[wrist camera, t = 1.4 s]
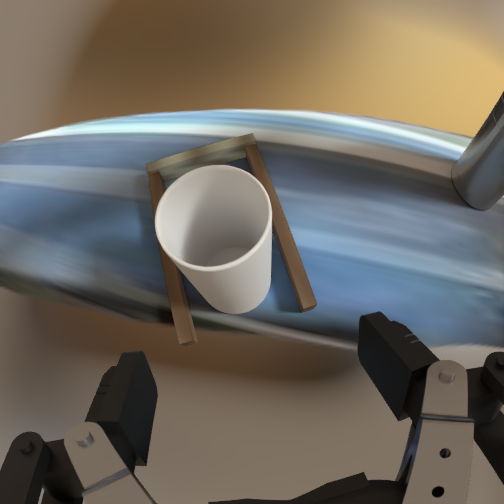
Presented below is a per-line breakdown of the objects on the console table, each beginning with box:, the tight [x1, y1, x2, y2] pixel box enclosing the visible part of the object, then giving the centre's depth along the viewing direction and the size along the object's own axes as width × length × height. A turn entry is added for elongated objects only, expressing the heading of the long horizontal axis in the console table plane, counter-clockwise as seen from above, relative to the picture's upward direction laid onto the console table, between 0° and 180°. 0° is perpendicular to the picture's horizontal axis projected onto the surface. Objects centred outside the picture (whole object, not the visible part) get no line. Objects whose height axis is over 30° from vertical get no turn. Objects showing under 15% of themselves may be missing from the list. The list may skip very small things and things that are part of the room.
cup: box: [155, 165, 272, 314], centre depth 28 cm, size 8×8×16 cm
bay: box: [146, 133, 317, 346], centre depth 36 cm, size 15×24×3 cm, turn 16°
